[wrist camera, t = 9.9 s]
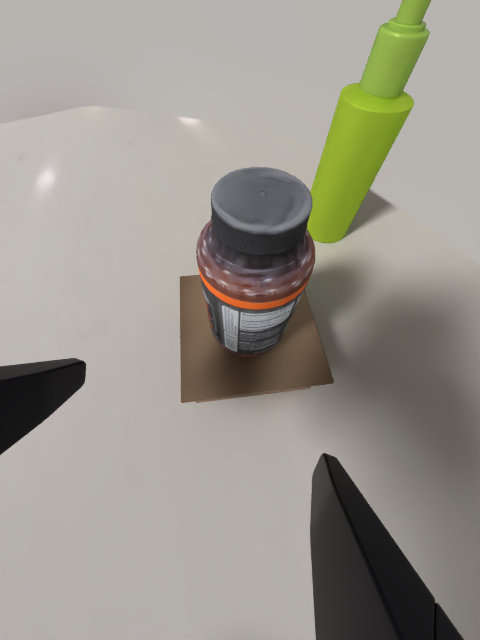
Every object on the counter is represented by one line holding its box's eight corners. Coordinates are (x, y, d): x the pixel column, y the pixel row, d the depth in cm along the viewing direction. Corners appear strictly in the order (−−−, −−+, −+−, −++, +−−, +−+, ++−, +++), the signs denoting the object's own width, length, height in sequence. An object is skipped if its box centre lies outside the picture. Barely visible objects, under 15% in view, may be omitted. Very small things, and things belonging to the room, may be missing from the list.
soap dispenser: (356, 246, 29) (543, -58, 12) (300, 240, 29) (401, -66, 12) (351, 215, 32) (496, -67, 14) (301, 210, 32) (382, -73, 15)
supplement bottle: (211, 294, 20) (191, 149, 10) (279, 294, 20) (323, 151, 10) (208, 360, 17) (176, 248, 7) (287, 360, 18) (358, 249, 8)
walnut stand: (190, 409, 19) (181, 402, 16) (187, 300, 25) (179, 276, 21) (316, 393, 20) (334, 382, 17) (288, 291, 26) (297, 266, 22)
